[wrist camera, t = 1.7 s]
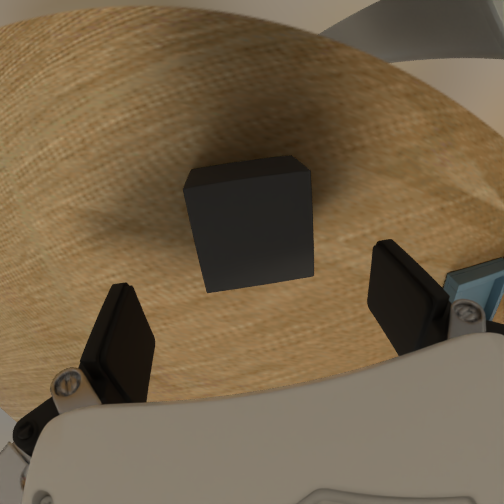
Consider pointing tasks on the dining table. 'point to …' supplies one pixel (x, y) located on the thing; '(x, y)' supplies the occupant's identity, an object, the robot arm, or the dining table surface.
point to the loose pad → (251, 222)
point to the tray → (478, 285)
